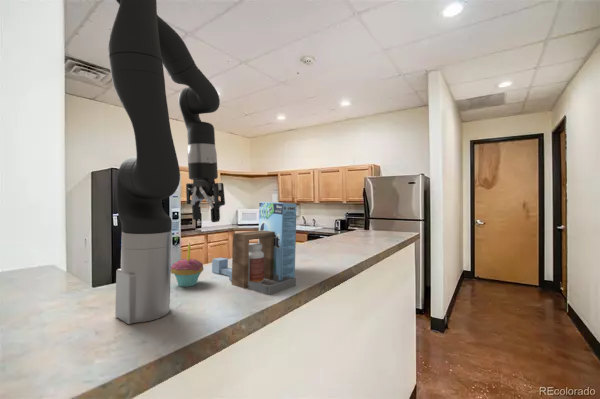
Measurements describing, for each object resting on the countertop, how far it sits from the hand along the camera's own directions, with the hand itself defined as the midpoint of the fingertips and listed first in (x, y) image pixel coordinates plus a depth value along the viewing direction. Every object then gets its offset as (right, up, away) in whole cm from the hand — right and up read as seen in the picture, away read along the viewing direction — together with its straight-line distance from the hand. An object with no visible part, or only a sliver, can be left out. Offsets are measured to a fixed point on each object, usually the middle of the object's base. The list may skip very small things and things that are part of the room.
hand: (206, 220), depth 80 cm
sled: (+4, -18, +11) cm, 21 cm away
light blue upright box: (+18, -18, +13) cm, 29 cm away
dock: (+18, -19, +1) cm, 26 cm away
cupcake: (-6, -18, +1) cm, 19 cm away
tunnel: (+12, -18, +5) cm, 23 cm away
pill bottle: (+12, -19, +5) cm, 23 cm away
